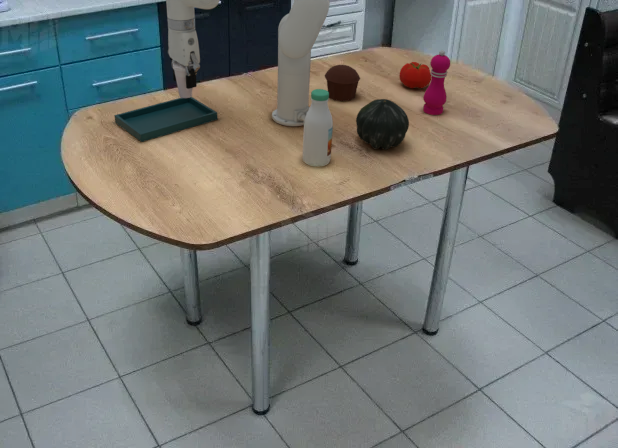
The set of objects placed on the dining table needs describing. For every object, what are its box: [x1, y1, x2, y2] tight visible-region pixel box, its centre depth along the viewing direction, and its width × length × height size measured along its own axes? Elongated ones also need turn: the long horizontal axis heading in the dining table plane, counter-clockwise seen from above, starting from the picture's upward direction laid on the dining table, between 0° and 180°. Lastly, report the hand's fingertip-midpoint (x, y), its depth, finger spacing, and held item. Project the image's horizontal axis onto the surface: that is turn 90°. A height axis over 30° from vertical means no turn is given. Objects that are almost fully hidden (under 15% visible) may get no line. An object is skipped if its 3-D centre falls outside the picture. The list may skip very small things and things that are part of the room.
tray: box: [113, 96, 219, 143], centre depth 199 cm, size 16×26×2 cm, turn 131°
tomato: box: [399, 61, 432, 89], centre depth 229 cm, size 11×11×8 cm
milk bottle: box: [302, 88, 334, 167], centre depth 178 cm, size 8×8×20 cm
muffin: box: [324, 64, 361, 102], centre depth 218 cm, size 12×11×10 cm
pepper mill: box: [422, 49, 451, 116], centre depth 209 cm, size 7×7×20 cm
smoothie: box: [172, 62, 193, 98], centre depth 196 cm, size 6×6×14 cm
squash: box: [355, 98, 410, 151], centre depth 190 cm, size 14×15×15 cm
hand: (184, 83), depth 198 cm, fingers closed on smoothie, 6 cm apart
